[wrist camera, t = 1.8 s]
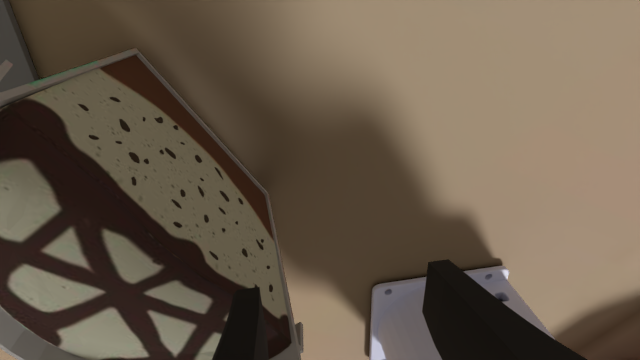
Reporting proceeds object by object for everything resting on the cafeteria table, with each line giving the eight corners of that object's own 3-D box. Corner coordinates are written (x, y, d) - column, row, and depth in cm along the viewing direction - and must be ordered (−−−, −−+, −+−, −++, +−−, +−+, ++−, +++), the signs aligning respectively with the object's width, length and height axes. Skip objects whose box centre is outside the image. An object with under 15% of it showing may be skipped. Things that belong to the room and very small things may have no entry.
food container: (1, 103, 17) (-246, 250, 8) (107, 16, 16) (-49, 82, 8) (199, 267, 23) (172, 451, 14) (285, 211, 22) (310, 371, 14)
